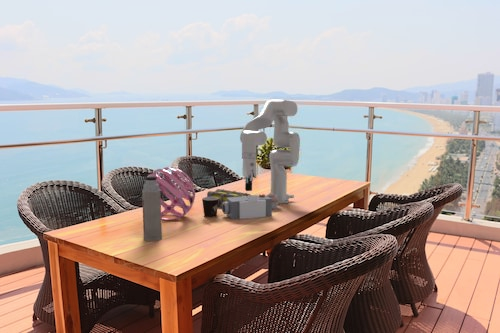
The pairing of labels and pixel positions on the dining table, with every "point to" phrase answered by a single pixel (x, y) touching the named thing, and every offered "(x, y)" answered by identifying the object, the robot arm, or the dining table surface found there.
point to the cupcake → (273, 200)
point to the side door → (252, 208)
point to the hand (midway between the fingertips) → (248, 190)
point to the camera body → (233, 202)
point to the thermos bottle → (151, 210)
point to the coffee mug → (210, 206)
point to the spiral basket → (175, 191)
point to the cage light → (225, 195)
